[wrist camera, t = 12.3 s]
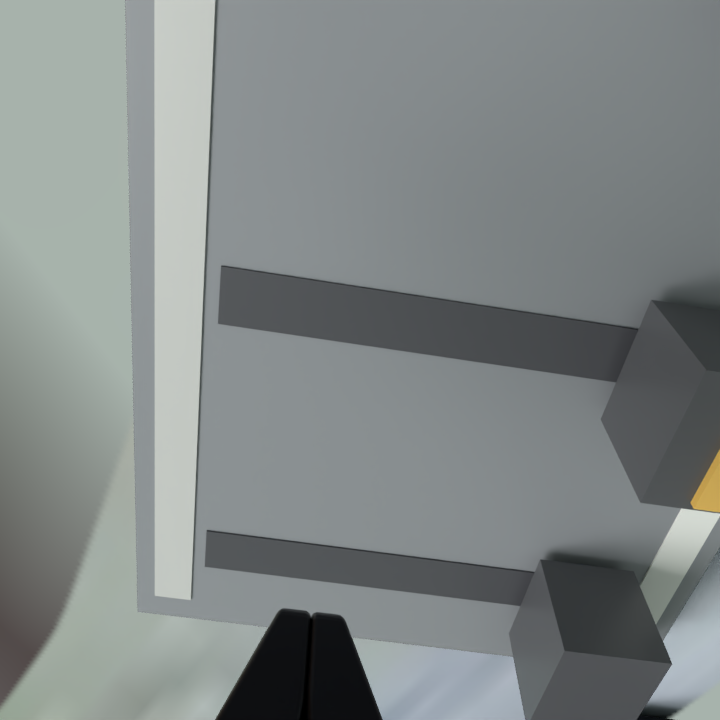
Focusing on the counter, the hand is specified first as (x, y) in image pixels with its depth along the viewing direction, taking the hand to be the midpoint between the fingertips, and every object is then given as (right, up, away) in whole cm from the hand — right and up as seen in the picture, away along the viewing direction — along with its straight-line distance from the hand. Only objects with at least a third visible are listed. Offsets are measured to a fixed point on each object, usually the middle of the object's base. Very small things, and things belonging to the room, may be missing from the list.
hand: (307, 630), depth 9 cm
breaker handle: (+9, +3, +9) cm, 13 cm away
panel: (+4, +5, +10) cm, 12 cm away
